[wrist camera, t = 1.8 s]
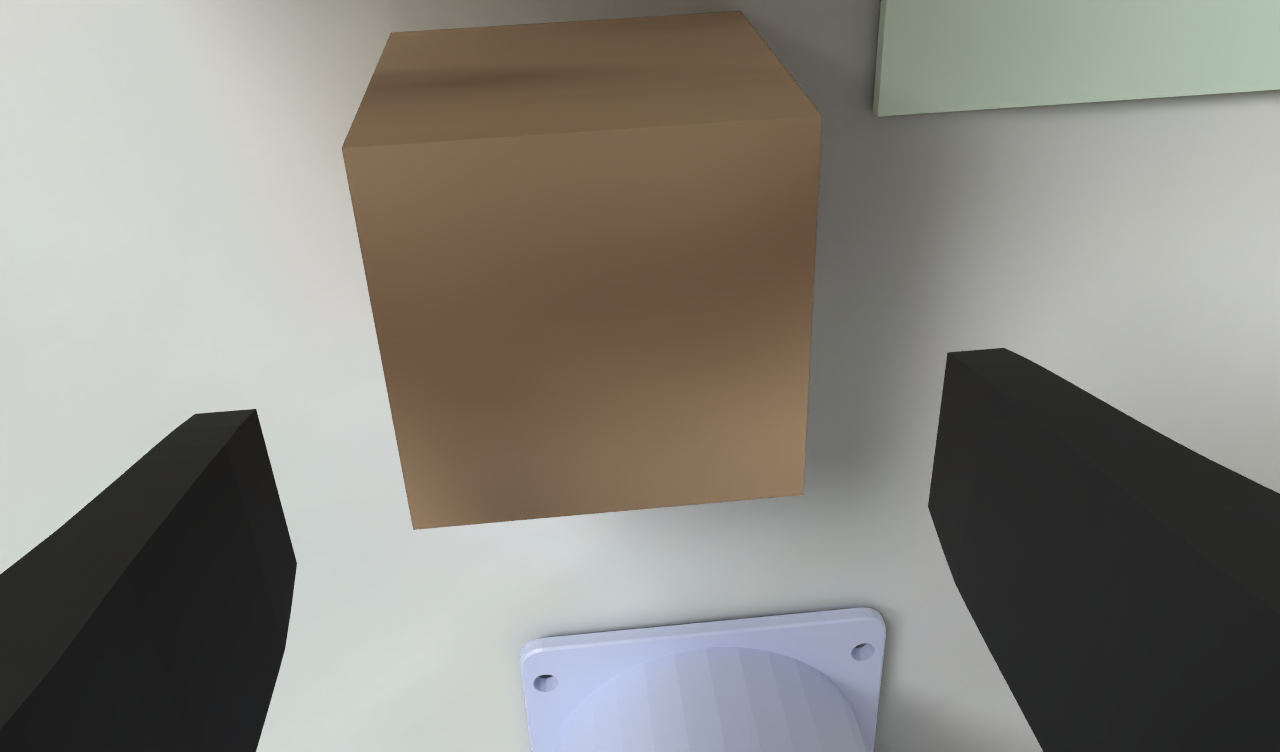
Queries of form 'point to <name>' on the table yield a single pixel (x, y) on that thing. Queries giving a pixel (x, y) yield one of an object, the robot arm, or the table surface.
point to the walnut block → (589, 264)
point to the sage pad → (1069, 52)
